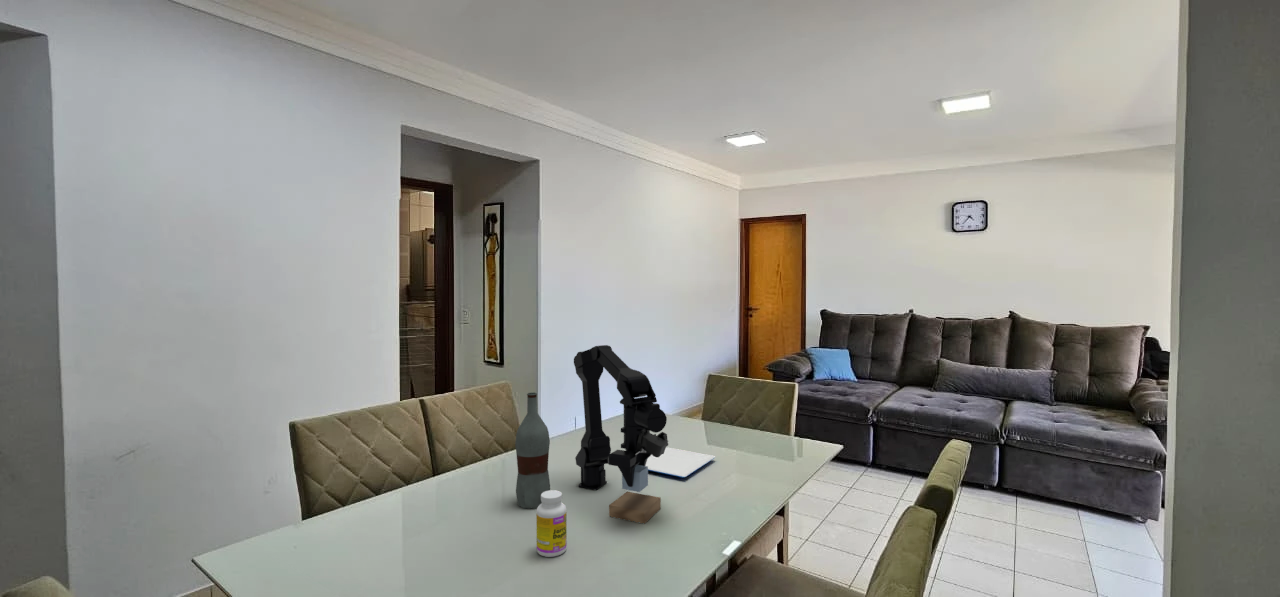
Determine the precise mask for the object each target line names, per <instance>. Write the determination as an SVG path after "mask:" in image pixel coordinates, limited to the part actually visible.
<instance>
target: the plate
mask: <svg viewBox="0 0 1280 597" xmlns="http://www.w3.org/2000/svg"><path fill="white" fill-rule="evenodd" d="M715 458H716V456H715V455H712V454H706V453H700V452H695V451H690V450H684V449H680V448H679V449H678V448H673V447H669V446H667V447H666V449H665V451H664V454H662V455H660V457H654V456H653V455H651V456H650V457H649V458H648V459H647V462H646V465H645V466H648V472H649V471H650V472H655V473H659V474H662V475H670V476H674V477H678V478H684V479H685V478H686V477H688V476H689V475H691V474H692V473H694V472H696V471H698V470H699V469H701V468H702V467H703V466H705V465H706V464H708V463H709V462H711V461H712V460H714V459H715Z"/></svg>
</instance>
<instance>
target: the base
mask: <svg viewBox="0 0 1280 597" xmlns="http://www.w3.org/2000/svg"><path fill="white" fill-rule="evenodd" d="M661 501H662V499H661V497H660V496H654V495H648V494H642V493H639V492H634V491H626V492H625V493H622V495H620V496H619V497H617V499H615V500H614V501H612V502H611V503H610V504H609V505H608V512H609V513H608V517H609V516H611V517H610V518H613V517H615V519H618V518H620V520H623V519H625V520H624V521H628V520H630V521H629V522H633V521H635V522H634V523H638V522H640V523H639V524H642V523H644V524H643V525H645V524H646V523H648V521H649V520H650V519H652V518H653V515H654V514H655V513H656V514H657V513H658V512H660V510H661V509H662V508H661V507H662V504H661V503H662V502H661ZM654 516H655V515H654Z"/></svg>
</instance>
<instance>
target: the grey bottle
mask: <svg viewBox="0 0 1280 597" xmlns="http://www.w3.org/2000/svg"><path fill="white" fill-rule="evenodd" d="M526 396H527V397H526V398H527V407H526V409H527V412H526V415H525V416H524V418H523V420H522V422H521V423H520V424H519V427H518V428H517V431H516V435H515V442H514V443H515V452H516V453H515V454H516V464H517V476H516V477H517V478H516V484H515V495H516V496H515V497H516V501H517V504H518V506H519V507H520V506H521V507H520V508H522V507H523V508H522V509H526V508H535V509H537V508H538V506H539V505H540V504H542V502H541V494H542V493H543V492H545V491H549V490H551V481H550V474H549V454H550V444H551V443H550V434H549V429H548V426H547V425H546V424H545V422H544V420H543V419H542V417H541V416H540V414H539V413H538V393H537V392H535V391H534V392H527V393H526Z"/></svg>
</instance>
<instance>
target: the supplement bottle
mask: <svg viewBox="0 0 1280 597" xmlns="http://www.w3.org/2000/svg"><path fill="white" fill-rule="evenodd" d="M562 500H563V492H561V491H559V490H555V489H550V490H549V491H545V492H543V493H542V494H541V502H542V504H540V505H539V506H538V508H536V511H535V512H536V513H535V514H536V551H537V552H536V553H537V554H539V555H540V556H542V557H546V558H553V557H554V558H555V557H558V556H560V555H562V554H564V553H565V551H567V544H568V543H567V542H568V541H567V535H568V534H567V531H568V530H567V528H568V527H567V507H566V504H564V503H563V502H562Z"/></svg>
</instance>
